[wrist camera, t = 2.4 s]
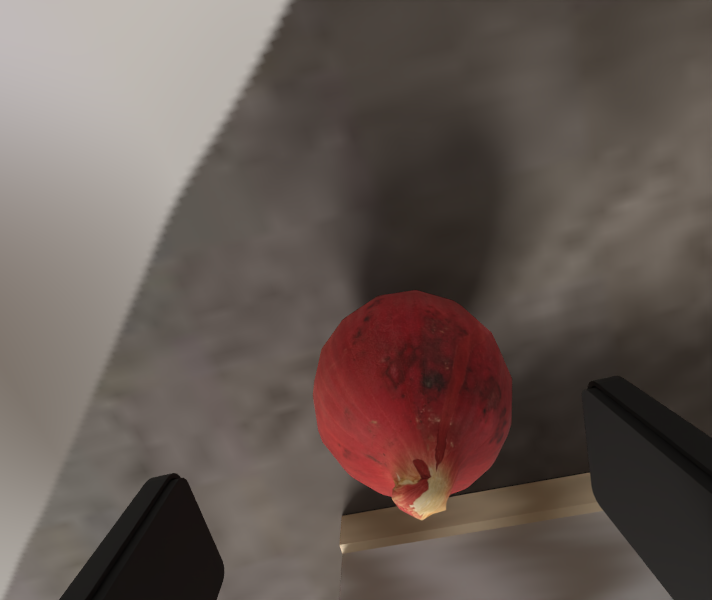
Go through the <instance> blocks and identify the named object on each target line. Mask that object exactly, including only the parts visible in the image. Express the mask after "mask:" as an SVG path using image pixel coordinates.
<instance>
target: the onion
mask: <svg viewBox="0 0 712 600" xmlns="http://www.w3.org/2000/svg"><path fill="white" fill-rule="evenodd" d="M313 399H314V405H315V412H316V418H317V425H318V431H319V433H320V436H321V439H322V441H323V443H324V444H325V445H326V447H327V448H328V449H329V450H330V452H331V453H332V454H333V456H334V457H335V458H336V459H337V461H338V462H339V463H340V464H341V466H342V467H343V468H344V469H345V470H346V471H347V473H348V474H349V475H350V476H351V477H353V478H355V479H356V480H358V481H359V482H361V483H363V484H365V485H366V486H368V487H370V488H372V489H373V490H375V491H377V492H378V493H380V494H383V495H387V496H391V497H392V500H393V501H394V503H395V504H396V505H397V506H398V508H399V509H400V510H402V511H404V512H405V513H407V514H409V515H411V516H413V517H415V518H417V519H420V520H423V519H425V518H427V517H428V516H430V515H432V514H434V513H438V512H442V511H445V510H446V502H447V500H448V498H449V496H450V494H453V493H456V492H459V491H462V490H464V489H466V488H468V487H469V486H470V485H471V484H472V483H473V482H475V481H476V480H477V479H478V478H479V477H480V476H481V475H482V474H484V473H485V472H486V471H487V470H488V469H489V468H490V467H491V466H492V464H493V463H494V462H495V460H496V458H497V456H498V454H499V452H500V450H501V448H502V446H503V444H504V442H505V440H506V438H507V436H508V433H509V430H510V427H511V420H512V377H511V375H510V373H509V370H508V368H507V366H506V364H505V361H504V359H503V357H502V354H501V352H500V350H499V348H498V345H497V343H496V341H495V339H494V337H493V335H492V333H491V332H490V331H489V330H488V329H487V328H486V327H484V326H483V325H482V324H481V323H480V322H479V321H478V320H477V319H476V318H474V317H473V316H472V315H471V314H470V313H469V312H468V311H467V310H466V309H464V308H463V307H462V306H461V305H459V304H458V303H456V302H455V301H453V300H450V299H446V298H443V297H439V296H436V295H432V294H429V293H425V292H422V291H418V290H412V291H405V292H399V293H393V294H386V295H380V296H377V297H375V298H374V299H372V300H371V301H369V302H368V303H366V304H365V305H363V306H362V307H360V308H359V309H357V310H356V311H354V312H353V313H351V314H350V315H349V316H347V317H346V318H345V319H343V320H342V321H341V323H340V324H339V326H338V327H337V328H336V330H335V331H334V333H333V334H332V335H331V337H330V338H329V339H328V341H327V342H326V344H325V345H324V346H323V348H322V350H321V354H320V359H319V363H318V368H317V372H316V376H315V381H314V390H313Z"/></svg>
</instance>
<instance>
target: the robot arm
mask: <svg viewBox="0 0 712 600" xmlns="http://www.w3.org/2000/svg"><path fill="white" fill-rule="evenodd" d="M582 402H583V411H584V421H585V430H586V439H587V449H588V458H589V468H590V477H591V486H592V491H593V494H594V497H595V499H596V501H597V503H598V504H599V506H600V507H601V508H602V510H603V511H604V512H605V514H606V515H607V516H608V517H609V519H610V520H611V521H612V522H613V524H614V525H615V526H616V527H617V529H618V530H619V531H620V533H621V534H622V535H623V536H624V538H625V539H626V540H627V541H628V543H629V544H630V545H631V547H632V548H633V549H634V550H635V552H636V553H637V554H638V555H639V557H640V558H641V559H642V560H643V562H644V563H645V564H646V566H647V567H648V568H649V569H650V571H651V572H652V573H653V574H654V576H655V577H656V578H657V580H658V581H659V582H660V583H661V585H662V586H663V587H664V588H665V590H666V591H667V592H668V593H669V595H670V596H671V597H672V599H673V600H712V438H711V437H709V436H708V435H706V434H705V433H703V432H702V431H700V430H699V429H697V428H696V427H695V426H693V425H692V424H690V423H689V422H687V421H686V420H684V419H683V418H681V417H680V416H678V415H677V414H675V413H674V412H672V411H671V410H669V409H668V408H667V407H665V406H664V405H662V404H661V403H659V402H658V401H656V400H655V399H653V398H652V397H650V396H649V395H647V394H646V393H644V392H643V391H641V390H640V389H639V388H637V387H636V386H634V385H633V384H631V383H630V382H628V381H627V380H625V379H624V378H622V377H620V376H613V377H609V378H604V379H600V380H595V381H591V382H590V383H589V385H588V389H586V390H584V391H583V392H582ZM223 579H224V564H223V561H222V559H221V556H220V554H219V552H218V550H217V547H216V545H215V543H214V541H213V538H212V536H211V534H210V531H209V529H208V527H207V525H206V522H205V520H204V518H203V516H202V513H201V511H200V509H199V506H198V504H197V502H196V500H195V497H194V495H193V493H192V491H191V488H190V486H189V484H188V482H187V480H186V479H185V478H180V476H179V475H178V474H175V473H172V474H167V475H163V476H158V477H154V478H151V479H149V480H148V481H147V482H146V483H145V484H144V485H143V487H142V488H141V490H140V491H139V492H138V494H137V495H136V496H135V498H134V499H133V500H132V502H131V503H130V504H129V506H128V507H127V509H126V510H125V511H124V513H123V514H122V515H121V517H120V518H119V519H118V521H117V522H116V523H115V525H114V526H113V528H112V529H111V530H110V532H109V533H108V534H107V536H106V537H105V538H104V540H103V541H102V542H101V544H100V545H99V546H98V548H97V549H96V551H95V552H94V553H93V555H92V556H91V557H90V559H89V560H88V561H87V563H86V564H85V565H84V567H83V568H82V570H81V571H80V572H79V574H78V575H77V576H76V578H75V579H74V580H73V582H72V583H71V584H70V586H69V587H68V589H67V590H66V591H65V593H64V594H63V595H62V597H61V598H60V599H59V600H217V597H218V594H219V591H220V588H221V585H222V582H223Z"/></svg>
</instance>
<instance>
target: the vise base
mask: <svg viewBox="0 0 712 600" xmlns="http://www.w3.org/2000/svg"><path fill="white" fill-rule="evenodd" d="M340 548H341V551H342V568H341V582H340V597H339V600H673V599H672V597H671V596H670V595H669V593H668V592H667V591H666V590H665V588H664V587H663V586H662V585H661V583H660V582H659V581H658V580H657V578H656V577H655V576H654V574H653V573H652V572H651V571H650V569H649V568H648V567H647V566H646V564H645V563H644V562H643V560H642V559H641V558H640V557H639V555H638V554H637V553H636V552H635V550H634V549H633V548H632V547H631V545H630V544H629V543H628V541H627V540H626V539H625V538H624V536H623V535H622V534H621V533H620V531H619V530H618V529H617V527H616V526H615V525H614V524H613V522H612V521H611V520H610V519H609V517H608V516H607V515H606V514H605V512H604V511H603V510H602V508H601V507H600V506H599V504H598V503H597V501H596V499H595V497H594V494H593V491H592V486H591V477H590V473H584V474H578V475H573V476H567V477H561V478H555V479H550V480H544V481H538V482H533V483H527V484H521V485H516V486H510V487H504V488H498V489H493V490H487V491H481V492H476V493H470V494H464V495H459V496H453V497H449V498H448V500H447V502H446V510H445V511H442V512H438V513H434V514H432V515H430V516H428V517H427V518H425V519H423V520H420V519H417V518H415V517H413V516H411V515H409V514H407V513H405V512H404V511H402V510H400V509H399V508H398V506H396V507H390V508H385V509H379V510H373V511H367V512H362V513H356V514H350V515H345V516H342V521H341V533H340Z"/></svg>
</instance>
